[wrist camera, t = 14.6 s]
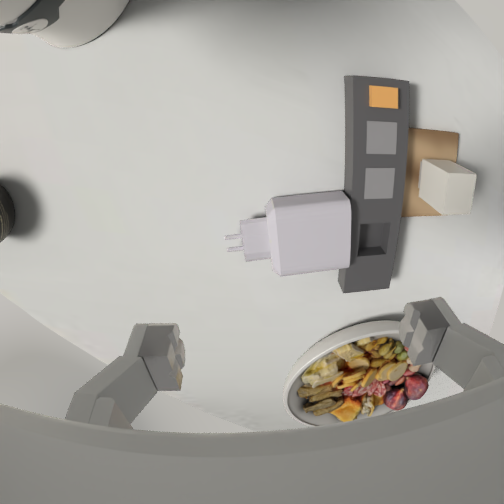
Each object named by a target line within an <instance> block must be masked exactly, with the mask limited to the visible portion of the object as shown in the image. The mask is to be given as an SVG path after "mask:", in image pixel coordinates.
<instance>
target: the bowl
mask: <svg viewBox="0 0 504 504" xmlns="http://www.w3.org/2000/svg"><path fill="white" fill-rule="evenodd" d="M399 326H400V321H391V320H382V321H372V322H366V323H361V324H357V325H354V326H351V327H348V328H345V329H343V330H340V331H338V332H336V333H334V334H332V335H330V336H328V337H326V338H324V339H323V340H321V341H319V342H318V343H316V344H315V345H314V346H312V347H311V348H310V349H309V350H307V351H306V352H305V353H304V354H303V355H302V356H301V357H300V358H299V359H298V360H297V361H296V363H295V364H294V365H293V367H292V368H291V370H290V372H289V373H288V376H287V378H286V380H285V384H284V388H283V402H284V407H285V409H286V411H287V413H288V414H289V415H290V416H291V417H292V418H293V419H294V420H296V421H297V422H299V423H301V424H304V425H306V426H310V427H314V426H321V425H328V424H335V423H341V422H347V421H353V420H358V419H363V418H369V417H373V416H378V415H383V414H387V413H391V412H394V411H396V410H401V409H403V408H404V407H405V406H406V404H407V403H408V402H409V401H411V400H417V399H419V398H421V397H422V396H423V395H424V394H425V392H426V391H427V389H428V386H429V385H428V381H429V380H430V378H431V376H432V375H433V372H434V370H435V367H436V366H435V365H434V364H432V363H433V362H432V363H427V364H422V365H417V366H413V365H412V362H411V360H410V358H409V356H408V354H407V352H408V349H409V348H407V347H405V346H404V345H403V344H402V342H401V340H400V336H399Z"/></svg>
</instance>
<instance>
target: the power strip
mask: <svg viewBox="0 0 504 504" xmlns="http://www.w3.org/2000/svg"><path fill="white" fill-rule="evenodd" d="M344 82H345V183H344V194H345V195H346V196H347V197H348V199H349V200H350V204H351V249H350V265H349V267H348V268H342V269H339V276H338V282H339V284H340V287H341V289H342V291H343V293H350V292H360V291H369V290H378V289H386V288H389V286H390V281H391V276H392V270H393V265H394V259H395V253H396V247H397V241H398V235H399V228H400V221H401V213H402V205H403V196H404V187H405V176H406V164H407V149H408V130H409V81H404V80H396V79H387V78H377V77H366V76H344Z"/></svg>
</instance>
